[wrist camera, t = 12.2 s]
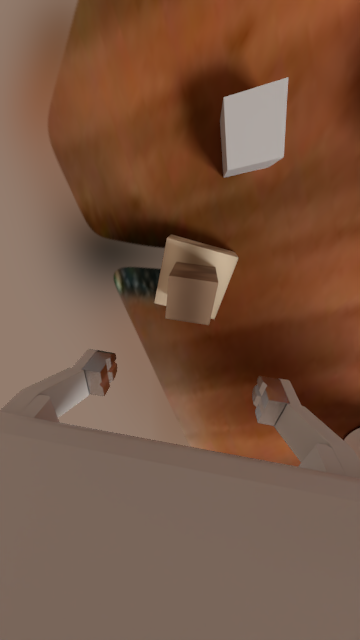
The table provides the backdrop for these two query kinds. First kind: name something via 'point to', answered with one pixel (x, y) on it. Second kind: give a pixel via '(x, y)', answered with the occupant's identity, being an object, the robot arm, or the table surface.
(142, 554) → the robot arm
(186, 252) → the beech pedestal block
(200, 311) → the walnut block
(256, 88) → the grey painted cube
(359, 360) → the table surface
